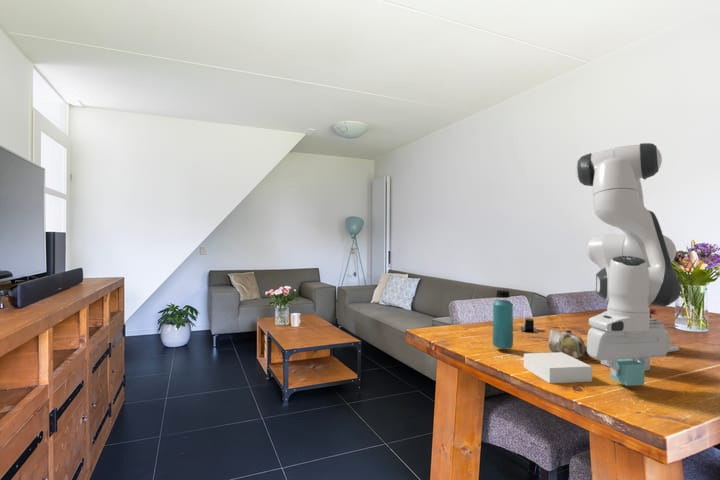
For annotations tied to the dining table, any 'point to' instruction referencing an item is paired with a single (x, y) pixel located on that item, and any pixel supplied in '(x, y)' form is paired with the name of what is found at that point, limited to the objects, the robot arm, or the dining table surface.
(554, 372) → the stand
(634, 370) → the cube
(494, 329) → the beverage bottle
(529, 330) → the black boxy piece
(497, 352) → the dining table surface
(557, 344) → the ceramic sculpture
